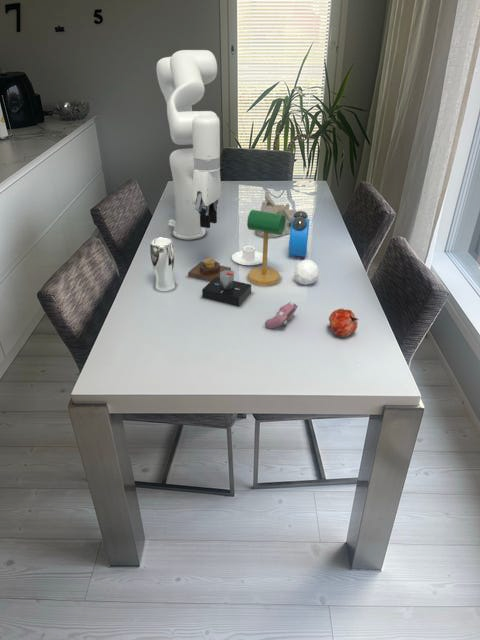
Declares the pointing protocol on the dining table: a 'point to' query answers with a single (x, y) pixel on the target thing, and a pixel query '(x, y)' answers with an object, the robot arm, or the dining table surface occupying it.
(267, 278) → the desk lamp
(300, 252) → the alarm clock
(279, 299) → the dining table surface
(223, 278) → the dimmer knob
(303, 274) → the geometric ball
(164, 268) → the beer glass
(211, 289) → the dimmer panel
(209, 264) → the button
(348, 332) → the pomegranate
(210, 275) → the switch block
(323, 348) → the dining table surface
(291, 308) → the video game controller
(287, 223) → the ceramic cottage
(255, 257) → the candle holder
